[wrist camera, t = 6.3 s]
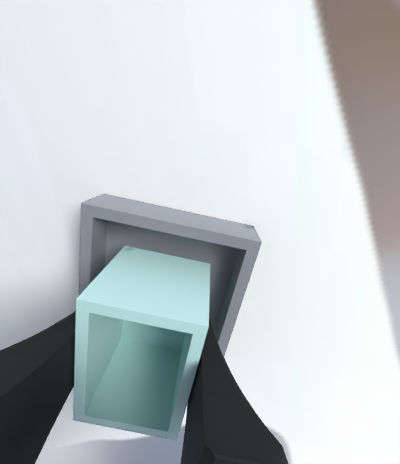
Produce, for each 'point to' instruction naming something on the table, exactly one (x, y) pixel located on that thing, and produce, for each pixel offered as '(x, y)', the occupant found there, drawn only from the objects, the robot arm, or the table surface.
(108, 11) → the table surface
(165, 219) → the gray tray
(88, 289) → the small crate
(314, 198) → the table surface
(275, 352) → the table surface
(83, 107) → the table surface
